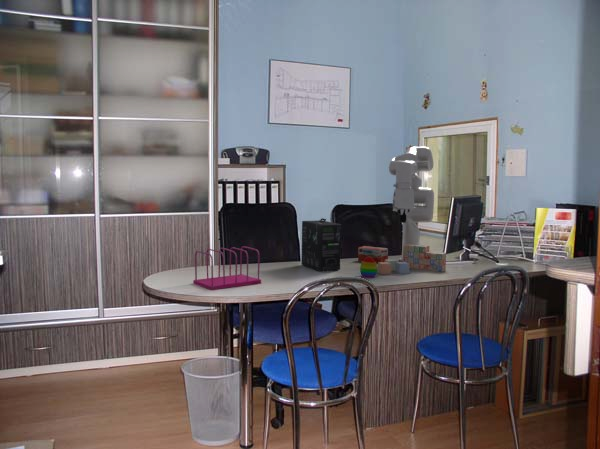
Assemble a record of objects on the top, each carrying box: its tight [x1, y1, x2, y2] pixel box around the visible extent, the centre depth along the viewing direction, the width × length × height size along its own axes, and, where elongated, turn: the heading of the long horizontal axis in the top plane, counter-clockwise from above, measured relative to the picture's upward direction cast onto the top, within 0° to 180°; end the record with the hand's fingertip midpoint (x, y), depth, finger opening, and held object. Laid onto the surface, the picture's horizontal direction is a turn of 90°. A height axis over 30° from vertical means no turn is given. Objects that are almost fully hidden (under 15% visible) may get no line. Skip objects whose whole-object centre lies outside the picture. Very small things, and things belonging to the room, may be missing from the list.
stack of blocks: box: [402, 244, 447, 273], centre depth 280 cm, size 21×6×12 cm, turn 56°
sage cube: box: [385, 258, 399, 271], centre depth 275 cm, size 5×5×5 cm
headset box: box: [300, 217, 342, 273], centre depth 282 cm, size 22×12×26 cm, turn 26°
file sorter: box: [192, 245, 262, 291], centre depth 240 cm, size 17×25×16 cm
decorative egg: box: [359, 257, 378, 279], centre depth 256 cm, size 8×8×10 cm
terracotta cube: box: [377, 262, 392, 275], centre depth 266 cm, size 5×5×5 cm
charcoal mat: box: [376, 268, 411, 276], centre depth 271 cm, size 16×17×1 cm
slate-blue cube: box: [395, 261, 410, 275], centre depth 267 cm, size 5×5×5 cm
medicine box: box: [357, 245, 389, 264], centre depth 305 cm, size 15×8×8 cm, turn 52°
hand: (402, 222), depth 273 cm, fingers closed
